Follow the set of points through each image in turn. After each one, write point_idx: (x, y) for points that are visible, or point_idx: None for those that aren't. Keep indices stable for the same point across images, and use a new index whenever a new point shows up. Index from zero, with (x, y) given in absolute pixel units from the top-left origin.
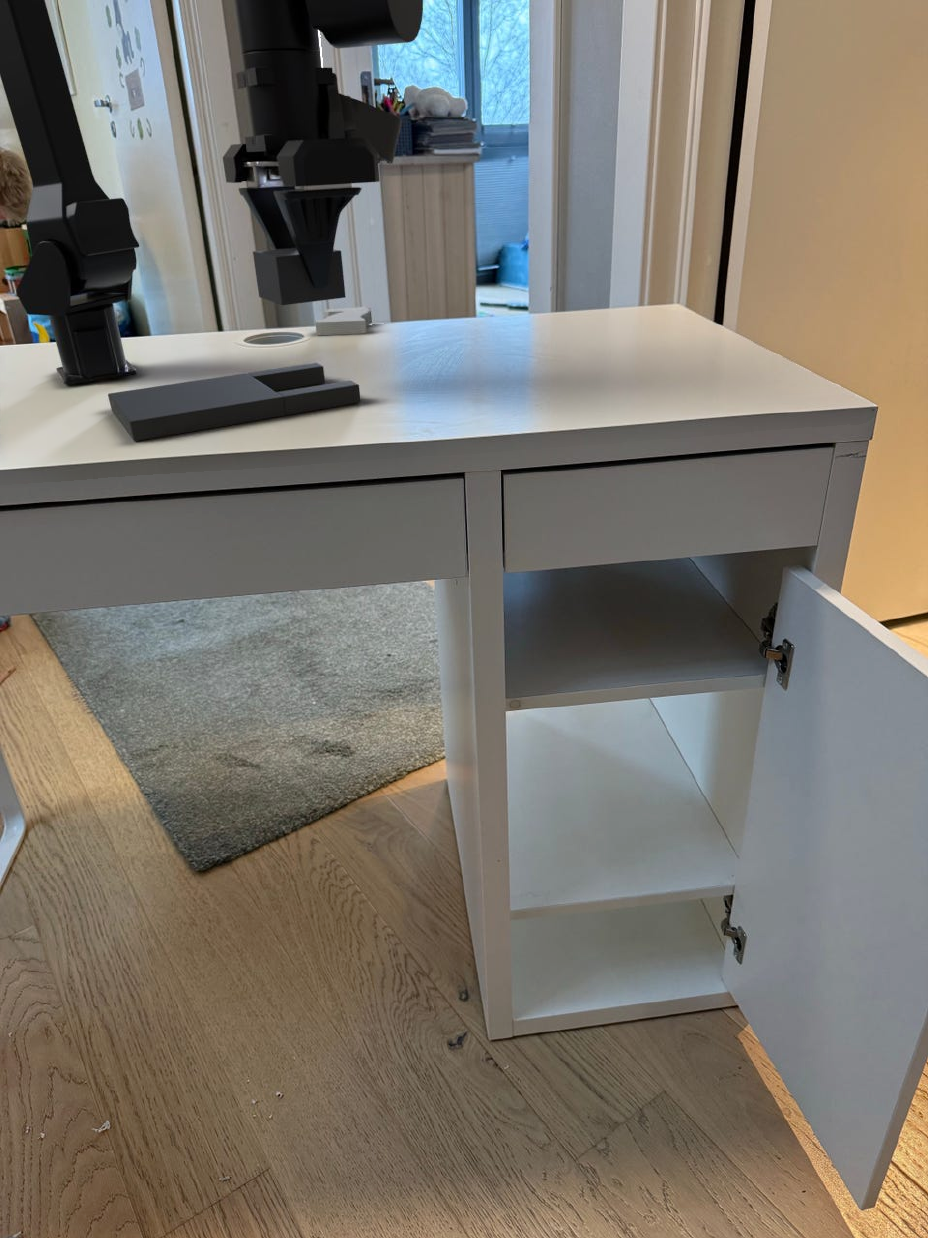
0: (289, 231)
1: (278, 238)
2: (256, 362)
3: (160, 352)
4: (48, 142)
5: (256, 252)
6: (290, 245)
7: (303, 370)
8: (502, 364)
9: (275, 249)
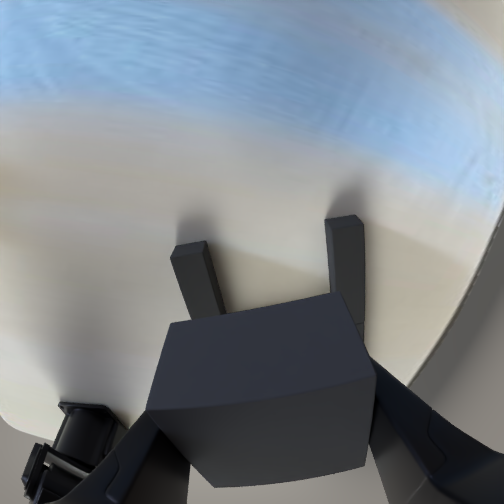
0: (164, 483)
1: (183, 483)
2: (52, 303)
3: (12, 368)
4: None
5: (237, 486)
6: (176, 455)
7: (212, 282)
8: None
9: (201, 469)
